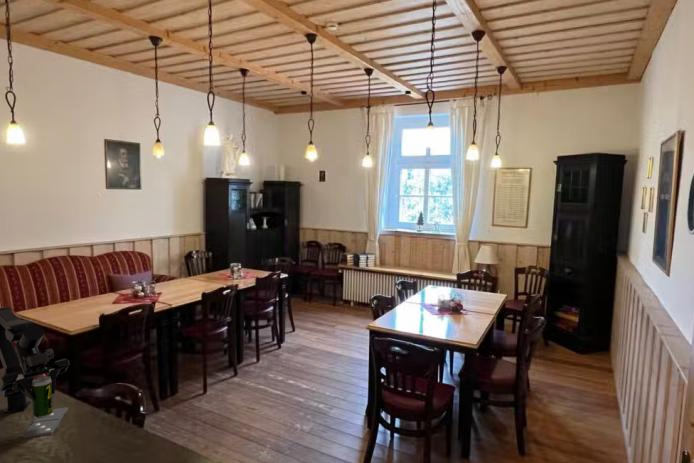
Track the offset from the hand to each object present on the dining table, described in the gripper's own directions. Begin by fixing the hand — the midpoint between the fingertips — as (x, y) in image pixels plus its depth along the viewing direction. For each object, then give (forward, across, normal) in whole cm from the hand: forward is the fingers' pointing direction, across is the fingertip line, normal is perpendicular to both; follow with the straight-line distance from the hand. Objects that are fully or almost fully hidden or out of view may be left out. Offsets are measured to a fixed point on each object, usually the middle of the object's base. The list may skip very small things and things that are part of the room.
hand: (43, 396), depth 138 cm
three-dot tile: (+7, 0, +9) cm, 12 cm away
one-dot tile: (+2, +5, +14) cm, 15 cm away
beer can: (+4, 0, +6) cm, 7 cm away
